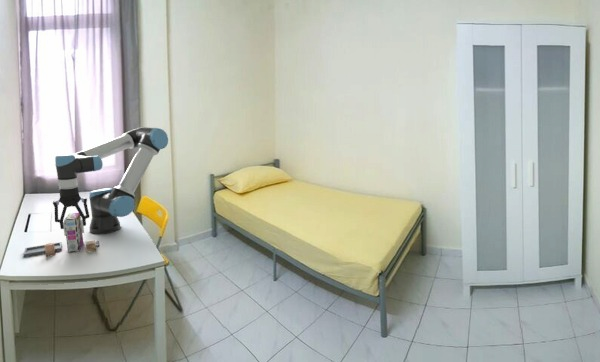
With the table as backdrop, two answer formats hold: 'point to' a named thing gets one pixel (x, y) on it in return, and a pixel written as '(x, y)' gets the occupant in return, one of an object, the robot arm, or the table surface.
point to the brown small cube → (50, 249)
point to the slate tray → (40, 249)
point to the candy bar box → (73, 232)
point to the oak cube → (90, 246)
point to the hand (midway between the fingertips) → (74, 233)
